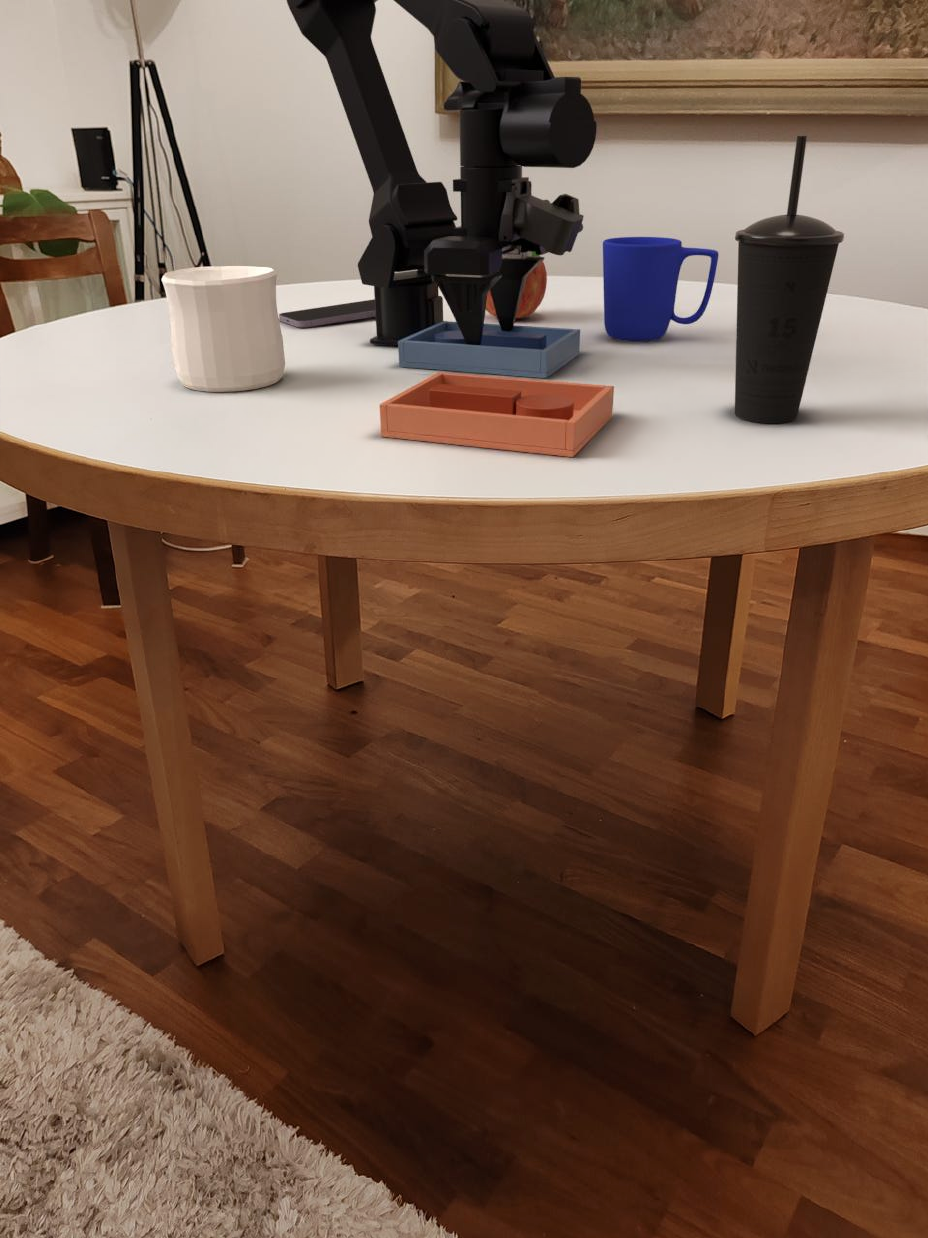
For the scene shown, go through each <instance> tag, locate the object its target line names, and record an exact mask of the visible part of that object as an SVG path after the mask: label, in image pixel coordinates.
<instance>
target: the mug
mask: <svg viewBox="0 0 928 1238" xmlns="http://www.w3.org/2000/svg"><path fill="white" fill-rule="evenodd" d="M682 244H683V243H682V240H680V239H677V238H671V237H660V236H621V237H610V238H606V239H604V240H603V241H602V267H603V268H602V275H603V277H602V278H603V322H604V324H603V325H604V330H605V333H606V334H607V335H608V336H609V338H610V339H613V340H617V341H623V342H633V343H642V342H643V343H644V342H651V341H657V340H660V339H662V338H663V337H664V336H665V335H666V333H667V331H668V329H669V325H670V323H671V321H672V322H674V323H676V324H680V325H691V324H694V323H695V322H698V320H700V319H701V317H703V315H704V313H705V311H706V309H707V307H708V304H709V301H710V298H711V295H712V291H713V288H714V287H713V286H714V283H715V279H716V274H717V267H718V263H719V262H718V261H719V251H718V250H715V249H711V248H700V247H685V246H683V245H682ZM693 256H704V257H705V256H706V257H709V258H710V265H709V271H708V278H707V282H706V287H705V291H704V294H703V297H702V299H701V300H702V301H701V303H700V305H699V307H698V309H697V310H696V312H695V313H693V314H692V315H690V316H687V317H680V316H678V315H676V313H675V304H676V297H677V296H676V295H677V290H678V282H679V277H680V272H681V268H682V265H683V263H684V261H685V260H686V259H687V258H688V257H693Z"/></svg>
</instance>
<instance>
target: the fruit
mask: <svg viewBox="0 0 928 1238" xmlns="http://www.w3.org/2000/svg"><path fill="white" fill-rule="evenodd" d="M531 257H542V255H536V252H532V256H531ZM547 282H548V273H547V269H546V264H545V263H544V261H543V262H542V263H540V264H539V265H538V266H537V267H536V268H535V269H534V270H533V271H532V272H530V273H529V275H528V276H527V279H526V282H525V285H524V289H523V292H522V296H521V300H520V304H519V307H518V311H517V315H516V319H524V318H527V317H529V316H531V315H532V314H534V312H536V310H537V309H538V308H539V306H540V305H541V304H542V302H543V300H544V298H545V294H546V291H547V285H548V284H547ZM485 312H487V313H489V314H490V315H491V316H493V317H495V318H497V315H496V311H495V307H494V304H493V300H492V296H491V293H490V290H489V291H488V294H487V302H486V311H485Z"/></svg>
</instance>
